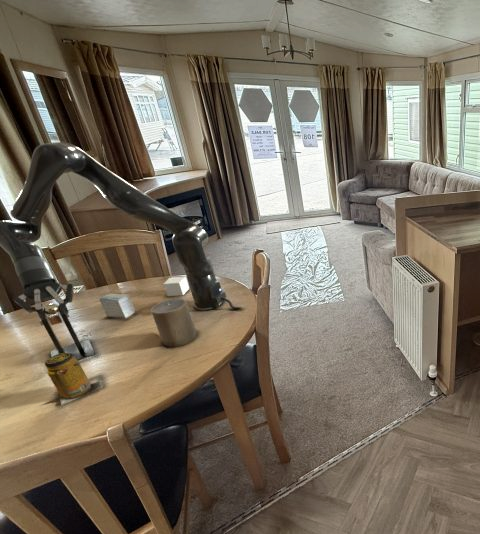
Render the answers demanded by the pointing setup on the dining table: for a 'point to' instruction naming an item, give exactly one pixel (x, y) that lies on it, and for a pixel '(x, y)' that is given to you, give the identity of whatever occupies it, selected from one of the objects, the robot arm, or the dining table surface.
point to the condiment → (69, 377)
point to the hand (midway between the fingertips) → (56, 317)
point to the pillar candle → (174, 322)
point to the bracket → (79, 347)
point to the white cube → (176, 286)
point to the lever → (53, 313)
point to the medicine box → (117, 305)
